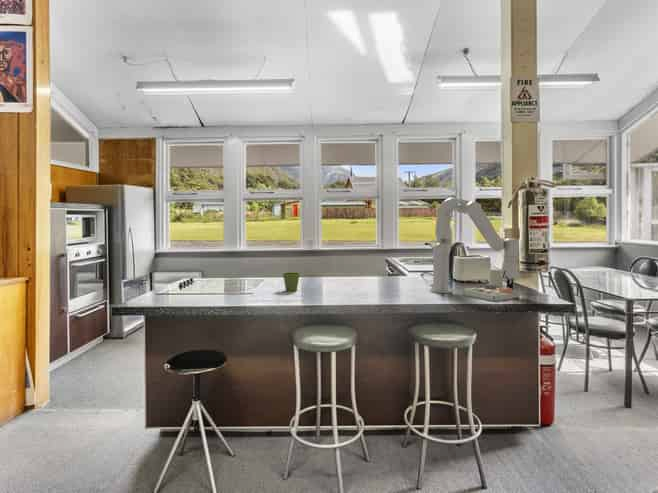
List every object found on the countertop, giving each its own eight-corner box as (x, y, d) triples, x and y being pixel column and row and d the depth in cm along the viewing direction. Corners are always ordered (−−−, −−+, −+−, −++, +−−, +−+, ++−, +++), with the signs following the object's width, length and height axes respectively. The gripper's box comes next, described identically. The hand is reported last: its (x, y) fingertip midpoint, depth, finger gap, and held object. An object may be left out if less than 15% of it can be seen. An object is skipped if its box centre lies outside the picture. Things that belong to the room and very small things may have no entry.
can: (493, 287, 273) (494, 269, 272) (485, 285, 282) (486, 267, 281) (506, 287, 275) (506, 269, 274) (497, 284, 284) (498, 267, 283)
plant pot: (302, 291, 262) (302, 274, 261) (284, 292, 259) (284, 275, 258) (298, 288, 273) (298, 271, 273) (280, 289, 270) (280, 272, 269)
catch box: (463, 295, 249) (463, 289, 249) (475, 293, 254) (475, 287, 254) (493, 301, 230) (493, 295, 230) (506, 299, 235) (506, 293, 235)
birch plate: (477, 293, 253) (477, 288, 253) (489, 291, 259) (489, 287, 259) (505, 299, 236) (505, 294, 236) (517, 297, 241) (517, 292, 241)
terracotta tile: (499, 291, 243) (499, 287, 242) (504, 291, 245) (504, 286, 245) (506, 293, 238) (506, 289, 238) (511, 292, 241) (512, 288, 241)
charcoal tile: (484, 288, 254) (484, 284, 254) (489, 287, 257) (489, 283, 256) (490, 289, 250) (491, 285, 250) (496, 288, 252) (496, 284, 252)
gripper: (513, 257, 249) (512, 287, 251) (497, 259, 242) (496, 290, 243) (524, 259, 243) (523, 289, 244) (508, 260, 235) (507, 292, 237)
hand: (509, 289), depth 244 cm, fingers closed
